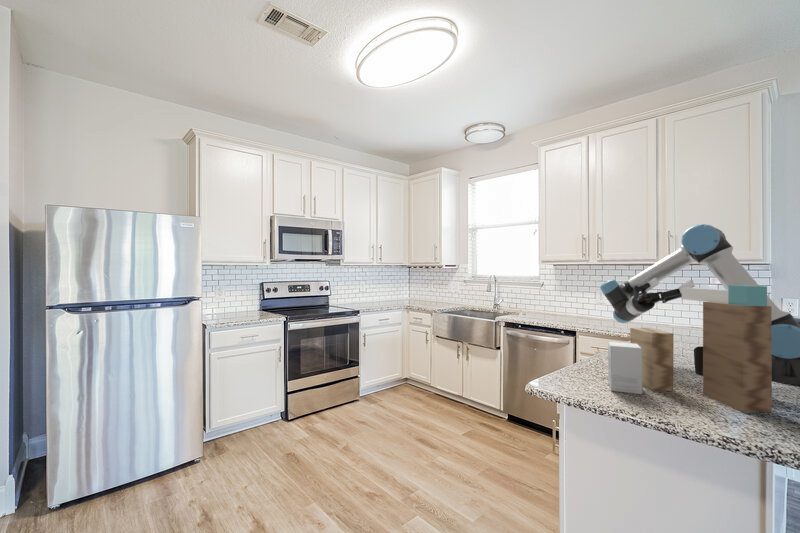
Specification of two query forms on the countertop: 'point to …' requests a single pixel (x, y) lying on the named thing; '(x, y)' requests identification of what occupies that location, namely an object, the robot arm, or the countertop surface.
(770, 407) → the tall block
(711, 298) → the teal and white bar
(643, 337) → the wooden block
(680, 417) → the countertop surface
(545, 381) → the countertop surface
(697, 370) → the pen holder
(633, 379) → the supplement box
